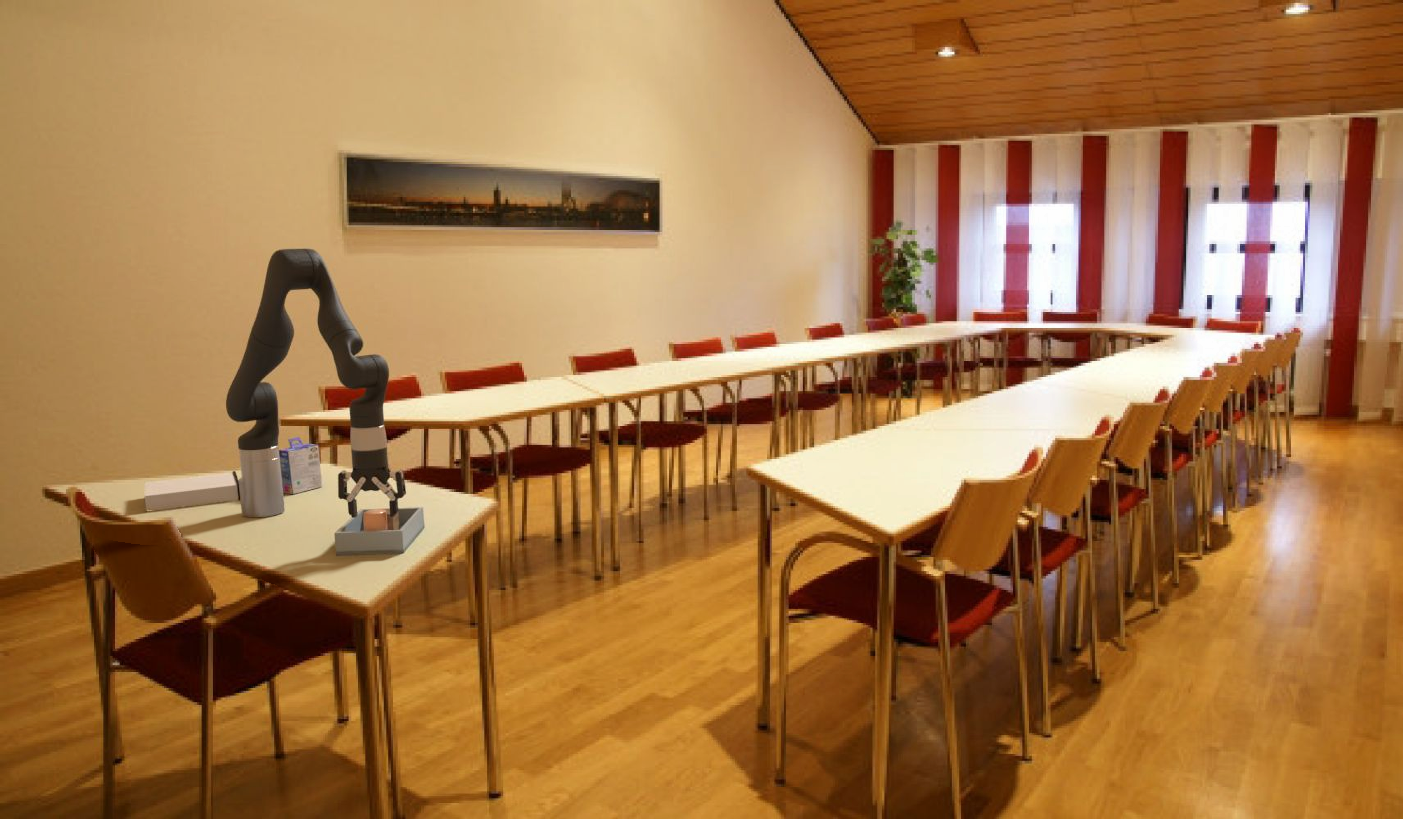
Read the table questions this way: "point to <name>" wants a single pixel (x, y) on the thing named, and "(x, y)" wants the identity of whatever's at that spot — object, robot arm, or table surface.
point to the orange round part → (375, 520)
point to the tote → (379, 534)
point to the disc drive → (191, 491)
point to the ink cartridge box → (300, 467)
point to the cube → (392, 521)
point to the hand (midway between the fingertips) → (373, 516)
